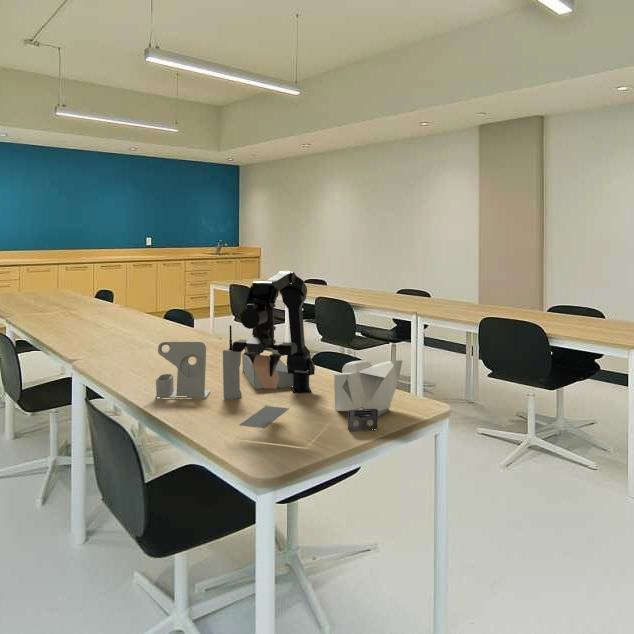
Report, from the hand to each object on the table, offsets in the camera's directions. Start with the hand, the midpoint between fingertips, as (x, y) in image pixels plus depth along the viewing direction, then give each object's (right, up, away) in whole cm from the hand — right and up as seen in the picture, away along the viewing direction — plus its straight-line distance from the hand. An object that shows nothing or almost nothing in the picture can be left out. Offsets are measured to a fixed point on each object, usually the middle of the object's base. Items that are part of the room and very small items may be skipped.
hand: (264, 375), depth 169 cm
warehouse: (-4, -7, +51) cm, 51 cm away
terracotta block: (+2, -3, +6) cm, 6 cm away
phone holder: (-30, -10, +26) cm, 41 cm away
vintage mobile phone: (-13, -10, +22) cm, 28 cm away
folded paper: (+34, -12, +8) cm, 37 cm away
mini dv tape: (+29, -15, -9) cm, 33 cm away
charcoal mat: (0, -13, +2) cm, 13 cm away
